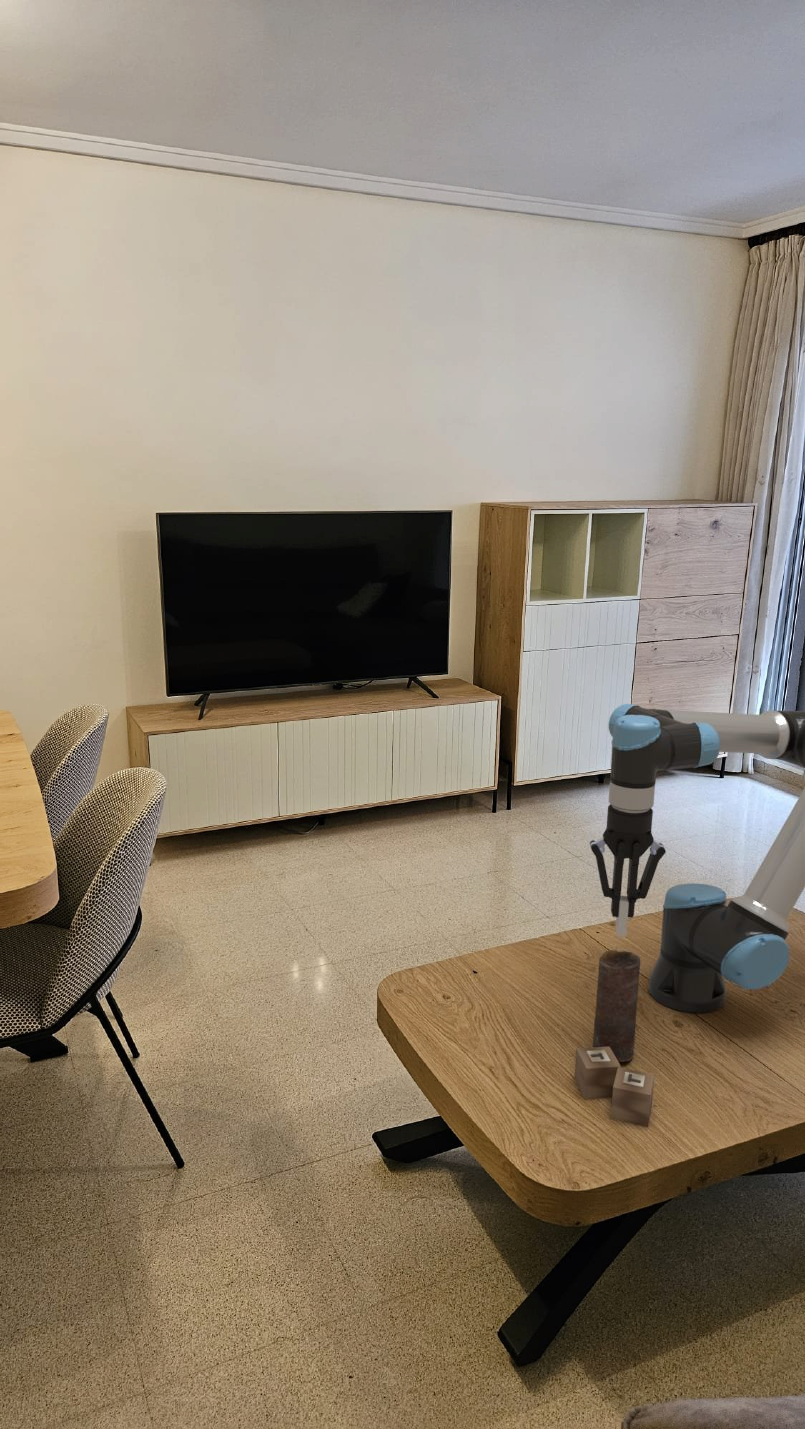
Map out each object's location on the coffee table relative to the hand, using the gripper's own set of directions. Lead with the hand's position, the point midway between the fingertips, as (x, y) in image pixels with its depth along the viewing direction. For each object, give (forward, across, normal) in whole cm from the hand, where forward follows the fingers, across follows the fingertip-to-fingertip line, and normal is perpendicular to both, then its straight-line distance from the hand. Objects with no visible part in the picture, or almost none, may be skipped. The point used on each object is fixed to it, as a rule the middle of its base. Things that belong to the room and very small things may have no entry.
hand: (620, 933), depth 173 cm
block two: (+25, +4, +10) cm, 27 cm away
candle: (+25, 0, 0) cm, 25 cm away
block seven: (+25, -1, +16) cm, 29 cm away
